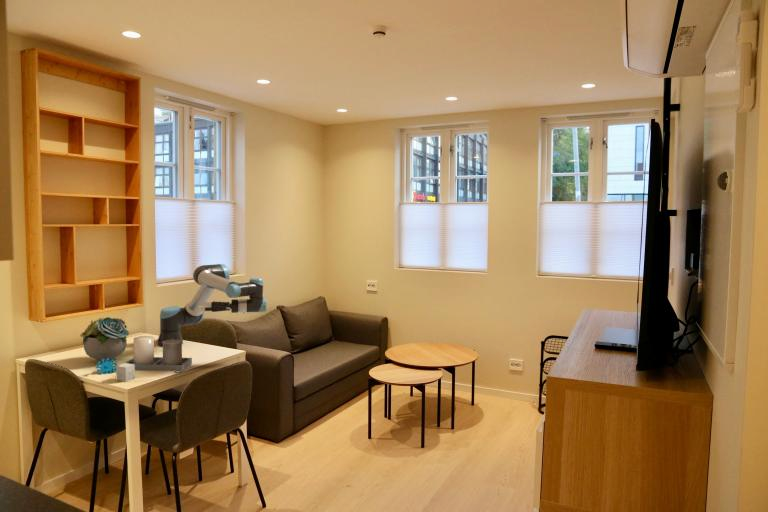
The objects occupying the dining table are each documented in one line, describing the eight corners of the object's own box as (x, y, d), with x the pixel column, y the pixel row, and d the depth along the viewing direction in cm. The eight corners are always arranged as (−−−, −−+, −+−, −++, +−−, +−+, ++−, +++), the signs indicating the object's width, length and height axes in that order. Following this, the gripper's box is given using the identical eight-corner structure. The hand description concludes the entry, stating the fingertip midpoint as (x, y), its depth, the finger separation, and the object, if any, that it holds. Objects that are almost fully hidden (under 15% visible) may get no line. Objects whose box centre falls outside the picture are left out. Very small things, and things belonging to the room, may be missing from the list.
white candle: (138, 362, 289) (138, 335, 288) (156, 363, 289) (156, 336, 288) (130, 368, 279) (130, 340, 278) (149, 368, 279) (149, 340, 278)
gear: (94, 374, 264) (97, 356, 271) (93, 380, 268) (96, 362, 275) (118, 375, 269) (121, 357, 275) (117, 380, 273) (120, 363, 279)
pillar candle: (178, 362, 291) (178, 335, 290) (184, 366, 284) (184, 339, 283) (160, 365, 285) (159, 338, 284) (166, 369, 278) (165, 341, 276)
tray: (135, 363, 292) (135, 356, 291) (191, 363, 293) (191, 357, 293) (122, 371, 276) (122, 364, 275) (182, 372, 277) (182, 365, 277)
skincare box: (135, 378, 265) (135, 364, 264) (125, 382, 259) (125, 367, 259) (125, 377, 267) (125, 362, 266) (116, 380, 261) (115, 365, 261)
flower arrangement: (131, 353, 310) (131, 312, 308) (128, 365, 287) (127, 321, 285) (83, 356, 301) (83, 314, 299) (75, 368, 278) (75, 323, 276)
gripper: (239, 316, 287) (198, 317, 281) (237, 308, 311) (199, 309, 304) (239, 303, 286) (198, 303, 280) (237, 296, 310) (199, 296, 304)
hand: (198, 306), depth 292 cm, fingers open, 13 cm apart
